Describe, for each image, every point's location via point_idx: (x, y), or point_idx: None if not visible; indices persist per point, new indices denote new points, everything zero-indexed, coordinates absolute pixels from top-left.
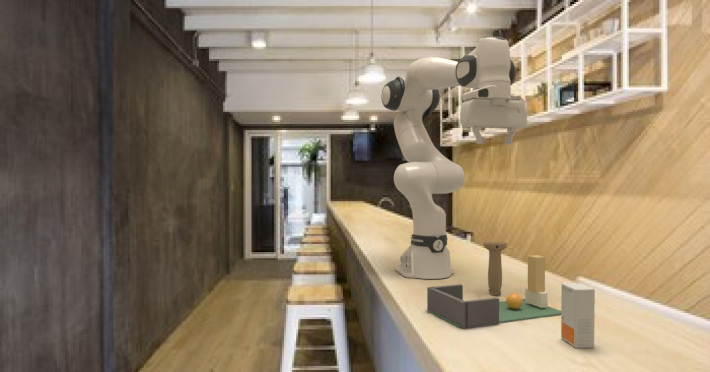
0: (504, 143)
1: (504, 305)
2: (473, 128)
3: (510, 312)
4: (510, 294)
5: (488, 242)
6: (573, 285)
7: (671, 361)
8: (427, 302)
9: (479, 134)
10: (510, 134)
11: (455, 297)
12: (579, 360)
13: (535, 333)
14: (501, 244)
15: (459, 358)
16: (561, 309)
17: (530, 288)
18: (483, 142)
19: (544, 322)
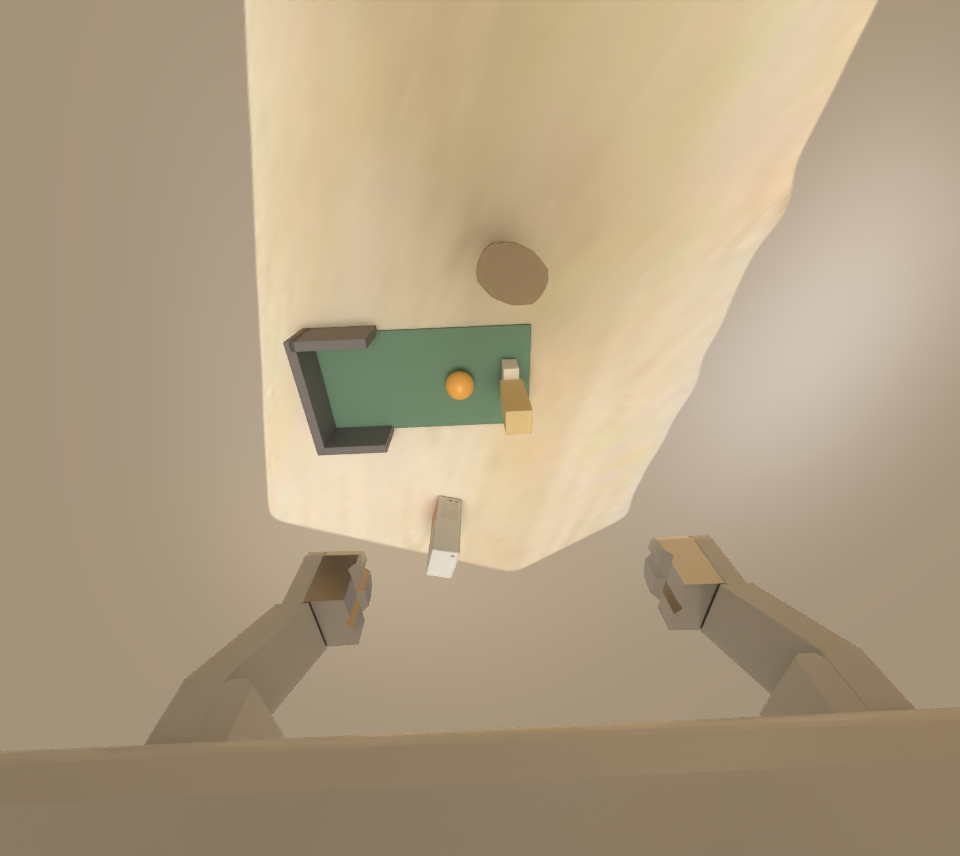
0: (657, 540)
1: (457, 354)
2: (169, 740)
3: (441, 394)
4: (452, 388)
5: (499, 255)
6: (438, 561)
7: (496, 561)
8: (296, 333)
9: (285, 677)
10: (759, 651)
11: (316, 426)
12: (413, 541)
13: (421, 472)
14: (514, 304)
15: (290, 509)
16: (435, 522)
17: (500, 389)
18: (362, 594)
19: (464, 441)
